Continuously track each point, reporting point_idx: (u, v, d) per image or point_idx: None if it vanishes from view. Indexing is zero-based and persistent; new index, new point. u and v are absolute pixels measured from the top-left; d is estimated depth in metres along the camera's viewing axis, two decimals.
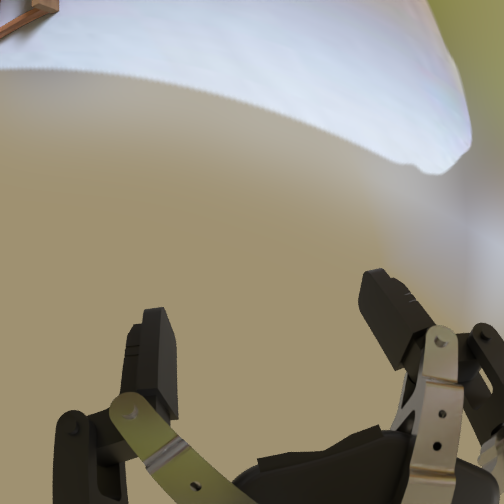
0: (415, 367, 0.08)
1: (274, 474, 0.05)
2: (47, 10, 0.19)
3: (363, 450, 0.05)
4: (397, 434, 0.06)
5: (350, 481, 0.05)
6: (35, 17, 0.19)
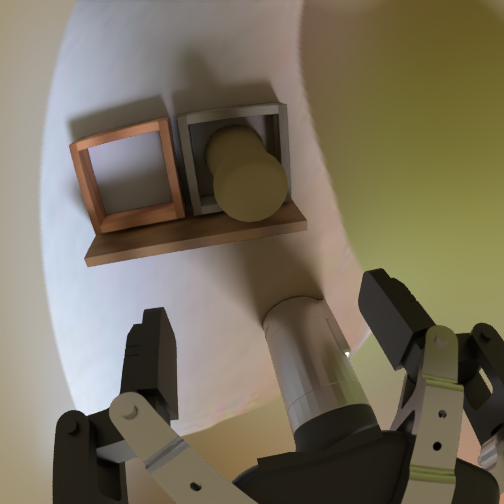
0: (415, 367, 0.08)
1: (274, 474, 0.05)
2: None
3: (363, 450, 0.05)
4: (397, 434, 0.06)
5: (350, 481, 0.05)
6: None
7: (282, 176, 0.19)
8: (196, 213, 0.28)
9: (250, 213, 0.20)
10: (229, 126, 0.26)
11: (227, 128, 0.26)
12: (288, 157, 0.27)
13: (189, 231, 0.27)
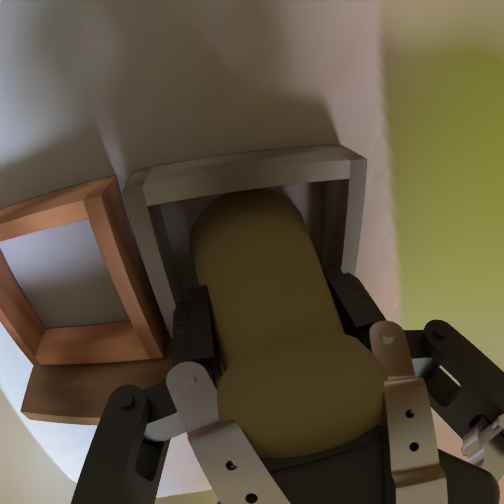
0: None
1: (274, 474, 0.05)
2: None
3: (363, 450, 0.05)
4: None
5: (350, 481, 0.05)
6: None
7: None
8: None
9: None
10: (240, 195, 0.13)
11: (236, 201, 0.13)
12: (354, 261, 0.14)
13: None
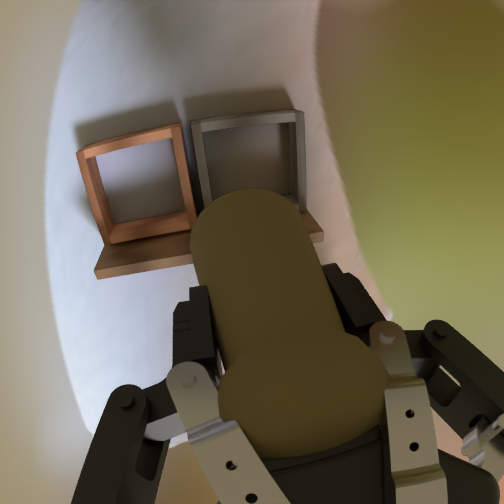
0: None
1: (274, 474, 0.05)
2: None
3: (363, 450, 0.05)
4: None
5: (350, 481, 0.05)
6: None
7: None
8: None
9: None
10: (240, 195, 0.13)
11: (235, 201, 0.13)
12: (304, 166, 0.26)
13: None
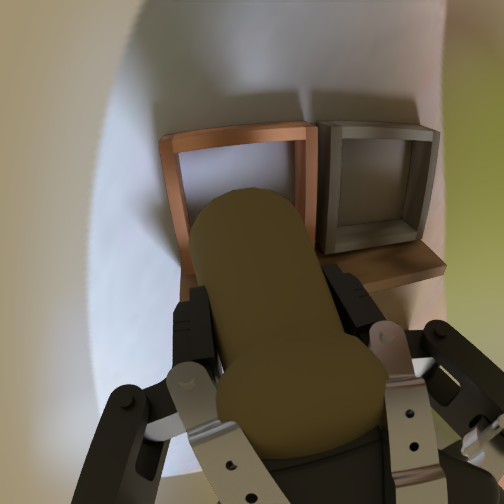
0: None
1: (274, 474, 0.05)
2: None
3: (363, 450, 0.05)
4: None
5: (350, 481, 0.05)
6: None
7: None
8: (328, 251, 0.22)
9: None
10: (238, 195, 0.13)
11: (234, 201, 0.13)
12: (431, 191, 0.21)
13: None
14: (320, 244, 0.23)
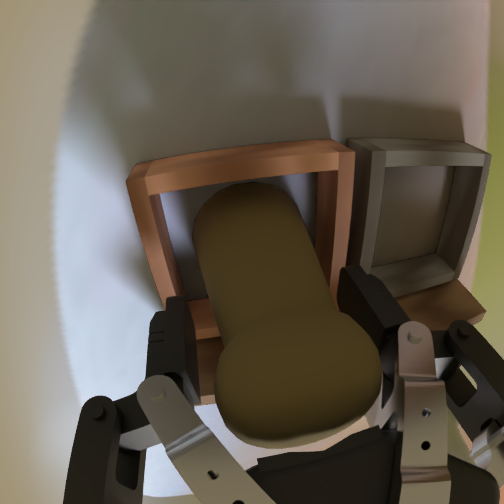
0: (390, 366, 0.09)
1: (274, 474, 0.05)
2: None
3: (363, 450, 0.05)
4: (397, 434, 0.06)
5: (350, 481, 0.05)
6: None
7: (379, 385, 0.07)
8: None
9: (297, 445, 0.08)
10: (240, 188, 0.14)
11: (236, 193, 0.14)
12: (475, 225, 0.16)
13: None
14: None
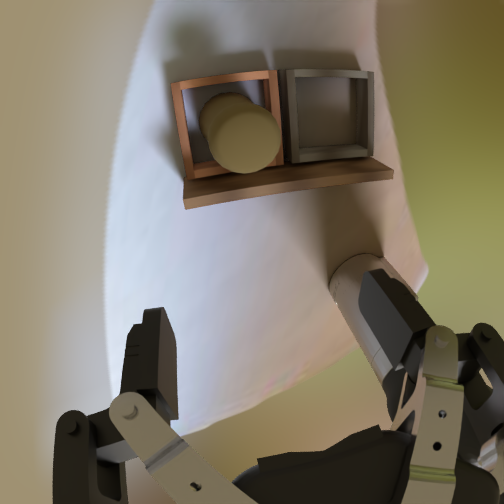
0: (415, 367, 0.08)
1: (274, 474, 0.05)
2: None
3: (363, 450, 0.05)
4: (397, 434, 0.06)
5: (350, 482, 0.05)
6: None
7: (275, 126, 0.19)
8: (294, 161, 0.29)
9: (244, 162, 0.19)
10: (223, 93, 0.26)
11: (221, 95, 0.25)
12: (373, 116, 0.27)
13: (294, 175, 0.27)
14: (289, 158, 0.30)
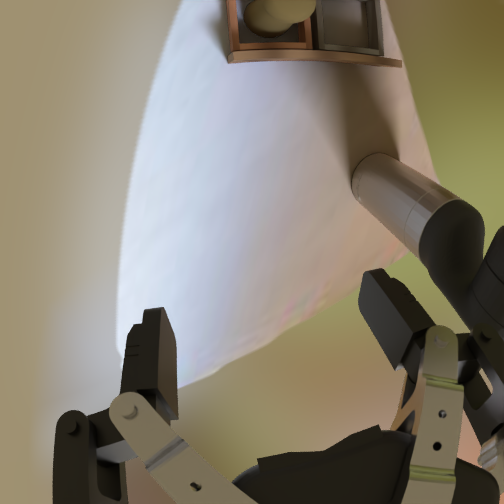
0: (415, 367, 0.08)
1: (274, 474, 0.05)
2: (229, 57, 0.29)
3: (363, 450, 0.05)
4: (397, 434, 0.06)
5: (350, 481, 0.05)
6: (230, 38, 0.28)
7: None
8: (321, 47, 0.29)
9: (291, 8, 0.20)
10: None
11: None
12: (381, 26, 0.28)
13: None
14: (316, 47, 0.30)
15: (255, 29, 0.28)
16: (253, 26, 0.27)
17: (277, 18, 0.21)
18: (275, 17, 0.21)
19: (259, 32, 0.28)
